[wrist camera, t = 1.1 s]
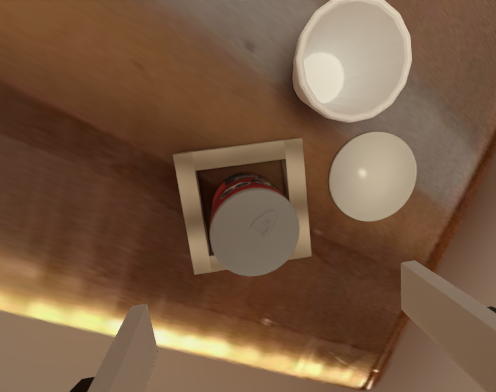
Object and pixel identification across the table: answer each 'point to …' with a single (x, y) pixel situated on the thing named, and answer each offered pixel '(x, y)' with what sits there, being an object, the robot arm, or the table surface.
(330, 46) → the cup
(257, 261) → the canned food
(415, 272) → the robot arm
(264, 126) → the table surface
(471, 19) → the table surface
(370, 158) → the coaster
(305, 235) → the holder
